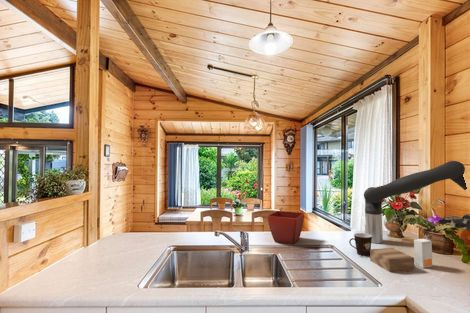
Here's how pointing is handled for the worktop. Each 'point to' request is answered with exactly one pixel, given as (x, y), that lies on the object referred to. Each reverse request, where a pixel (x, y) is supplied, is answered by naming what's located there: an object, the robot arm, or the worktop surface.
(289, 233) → the plant pot
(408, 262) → the walnut block
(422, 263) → the skincare box
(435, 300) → the worktop surface
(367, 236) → the coffee mug
